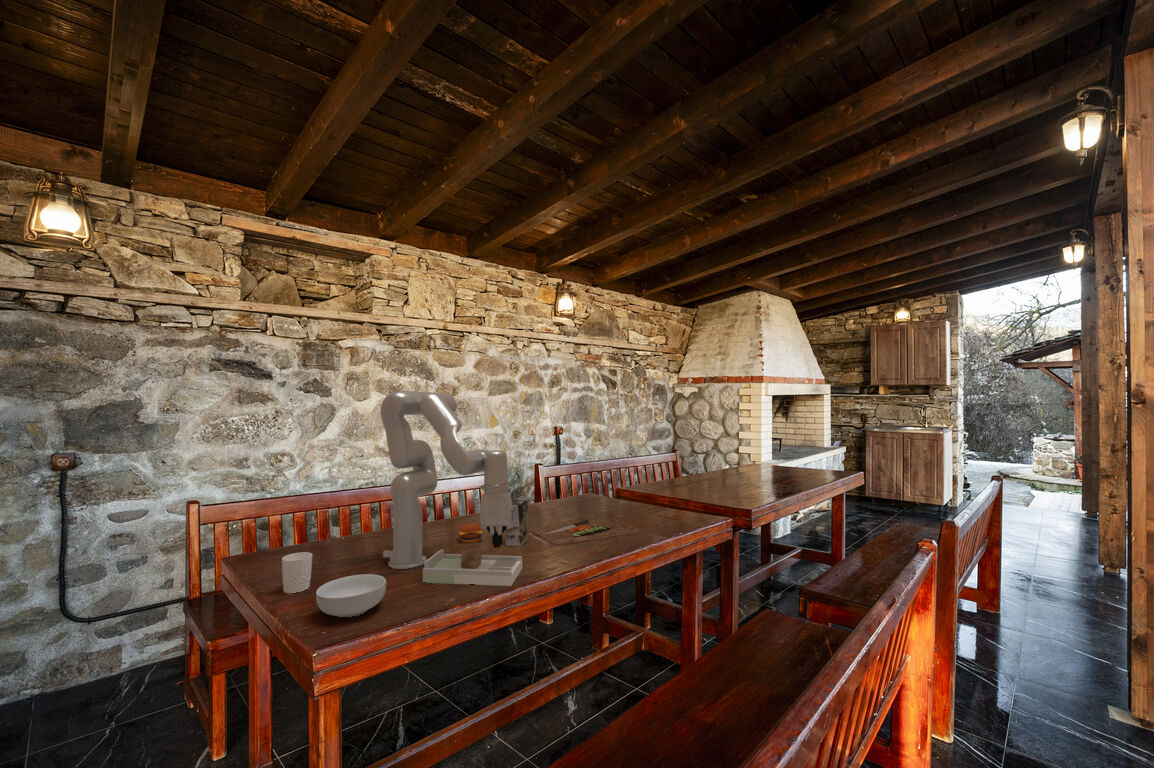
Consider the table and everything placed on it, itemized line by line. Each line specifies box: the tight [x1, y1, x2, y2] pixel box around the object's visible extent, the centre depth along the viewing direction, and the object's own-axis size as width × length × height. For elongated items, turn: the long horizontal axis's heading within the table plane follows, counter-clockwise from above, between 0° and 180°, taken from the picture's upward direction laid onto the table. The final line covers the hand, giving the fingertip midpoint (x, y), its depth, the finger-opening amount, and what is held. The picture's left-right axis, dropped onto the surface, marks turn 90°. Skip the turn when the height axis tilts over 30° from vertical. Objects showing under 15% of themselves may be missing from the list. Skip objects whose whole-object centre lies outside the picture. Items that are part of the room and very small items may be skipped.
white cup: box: [281, 551, 313, 593], centre depth 142 cm, size 8×8×10 cm
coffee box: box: [505, 499, 529, 547], centre depth 189 cm, size 9×6×16 cm
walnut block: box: [461, 550, 482, 569], centre depth 153 cm, size 5×5×4 cm
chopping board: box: [528, 518, 638, 546], centre depth 205 cm, size 45×27×3 cm, turn 119°
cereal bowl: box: [315, 573, 387, 618], centre depth 127 cm, size 17×17×7 cm
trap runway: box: [422, 549, 523, 587], centre depth 153 cm, size 28×15×6 cm, turn 83°
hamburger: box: [458, 522, 483, 544], centre depth 193 cm, size 9×10×7 cm
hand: (497, 546), depth 152 cm, fingers closed
